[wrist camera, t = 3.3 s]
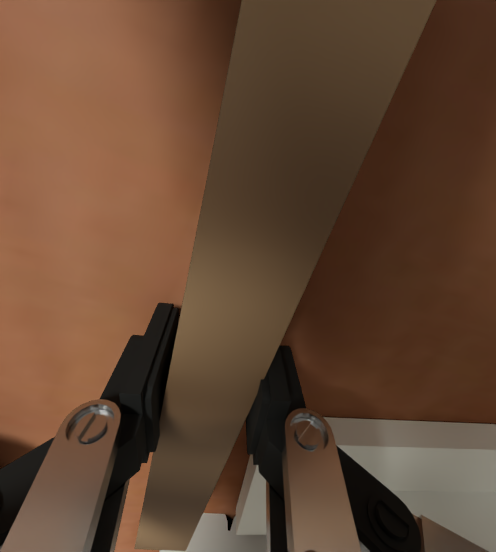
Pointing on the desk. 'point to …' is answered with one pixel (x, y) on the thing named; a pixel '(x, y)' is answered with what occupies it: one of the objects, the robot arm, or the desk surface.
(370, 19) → the walnut batten
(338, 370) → the desk surface
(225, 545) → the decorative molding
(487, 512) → the stand
